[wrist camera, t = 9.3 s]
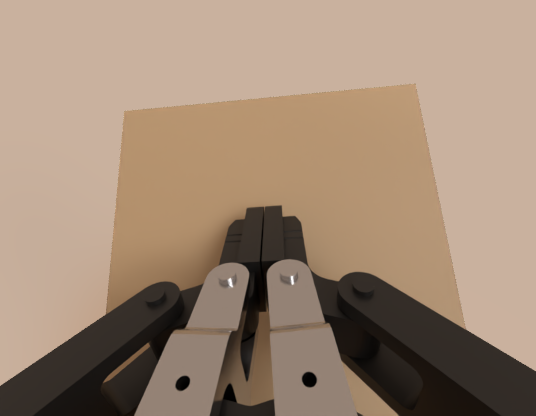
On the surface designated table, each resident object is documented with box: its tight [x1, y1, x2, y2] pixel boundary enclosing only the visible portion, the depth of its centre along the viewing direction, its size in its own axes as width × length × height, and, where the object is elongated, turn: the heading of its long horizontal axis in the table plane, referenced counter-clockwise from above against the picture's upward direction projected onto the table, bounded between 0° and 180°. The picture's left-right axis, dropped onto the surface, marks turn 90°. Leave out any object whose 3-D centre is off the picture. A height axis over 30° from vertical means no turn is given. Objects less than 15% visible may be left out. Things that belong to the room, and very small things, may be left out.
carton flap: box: [103, 84, 466, 416], centre depth 12 cm, size 15×15×1 cm
